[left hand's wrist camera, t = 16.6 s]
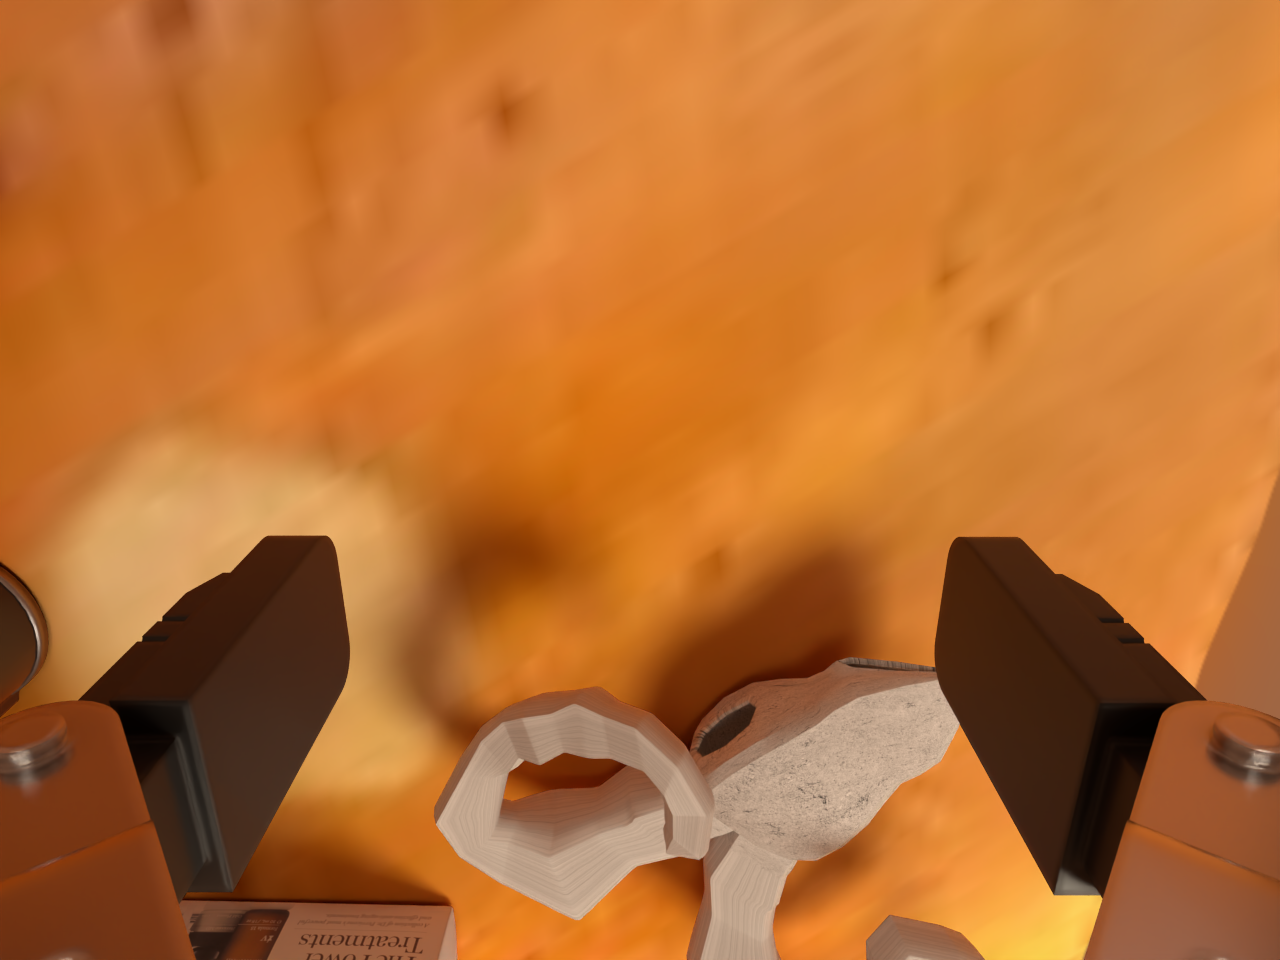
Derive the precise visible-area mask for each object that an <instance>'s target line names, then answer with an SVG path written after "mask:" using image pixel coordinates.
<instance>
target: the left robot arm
mask: <svg viewBox="0 0 1280 960" xmlns="http://www.w3.org/2000/svg"><path fill="white" fill-rule="evenodd" d="M162 618H163V619H162V621H157V622H156V623H155V624H154V625H153V626H152V627H151V628H150V629H149V630H148V631H147V632H146V633H145V634H144V635H143V636H142V637H143V639H142V642H136V643H135V644H134V645H133V646H132V647H131V648H130V649H129V650H128V651H127V652H126V653H125V654H124V655H123V656H122V657H121V658H120V659H119V660H118V661H117V662H116V663H115V664H114V665H113V666H112V667H111V668H110V669H109V670H108V671H107V672H106V673H105V674H104V675H103V676H102V677H101V678H100V679H99V680H98V681H97V682H96V683H95V684H94V685H93V686H92V687H91V688H90V689H89V690H88V691H87V692H86V693H85V694H84V695H83V696H82V697H81V698H80V699H79V700H78V701H64V702H55V703H50V704H45V705H41V706H37V707H33V708H30V709H26V710H23V711H20V712H18V713H15V714H12V715H9V716H7V717H5V718H2V719H0V960H196V958H195V955H194V952H193V949H192V945H191V942H190V939H189V936H188V932H187V929H186V926H185V923H184V919H183V916H182V913H181V910H180V906H179V904H180V902H181V901H182V899H183V897H184V896H185V894H186V892H233V891H234V889H235V887H236V885H237V883H238V881H239V880H240V878H241V876H242V874H243V872H244V870H245V868H246V867H247V865H248V863H249V861H250V859H251V857H252V856H253V854H254V852H255V850H256V848H257V846H258V845H259V843H260V841H261V839H262V837H263V835H264V834H265V832H266V830H267V828H268V826H269V824H270V823H271V821H272V819H273V817H274V815H275V813H276V811H277V810H278V808H279V806H280V804H281V802H282V800H283V799H284V797H285V795H286V793H287V791H288V789H289V788H290V786H291V784H292V782H293V780H294V778H295V777H296V775H297V773H298V771H299V769H300V767H301V765H302V764H303V762H304V760H305V758H306V756H307V754H308V753H309V751H310V749H311V747H312V745H313V743H314V742H315V740H316V738H317V736H318V734H319V732H320V731H321V729H322V727H323V725H324V723H325V721H326V720H327V718H328V716H329V714H330V712H331V710H332V708H333V707H334V705H335V703H336V701H337V699H338V697H339V696H340V694H341V692H342V690H343V688H344V685H345V682H346V678H347V674H348V669H349V660H350V643H349V635H348V628H347V621H346V614H345V607H344V601H343V594H342V587H341V580H340V573H339V566H338V560H337V554H336V550H335V546H334V544H333V542H332V540H331V539H330V538H329V537H328V536H266V537H265V538H263V539H262V540H261V541H260V542H259V543H258V544H257V545H256V546H255V547H254V549H253V550H252V551H251V552H250V553H249V554H248V555H247V556H246V557H245V558H244V559H243V560H242V561H241V562H240V563H239V564H238V565H237V566H236V567H235V568H234V570H233V571H232V572H231V573H222V574H220V575H218V576H216V577H214V578H213V579H211V580H209V581H207V582H205V583H204V584H202V585H200V586H198V587H196V588H194V589H193V590H191V591H189V592H187V593H186V594H185V595H184V596H183V597H182V598H181V599H180V600H179V601H178V602H177V603H176V604H175V605H174V606H173V607H172V608H171V609H170V610H169V611H168V612H167V613H166V614H165V615H164V616H163V617H162ZM48 643H49V641H48V631H47V626H46V622H45V619H44V617H43V614H42V612H41V610H40V608H39V606H38V604H37V603H36V601H35V600H34V598H33V597H32V595H31V594H30V593H29V591H28V590H27V589H26V588H25V587H24V586H23V585H22V584H21V583H20V582H19V581H18V580H17V579H16V578H15V577H14V576H13V575H12V574H10V573H9V572H8V571H6V570H5V569H4V568H2V567H1V566H0V717H1V716H2V715H3V714H4V713H5V712H6V711H7V710H9V709H10V708H11V707H12V706H13V705H14V704H15V703H16V702H17V701H18V700H19V690H20V689H21V688H23V687H24V686H25V685H26V684H27V683H28V682H29V681H31V680H32V679H33V678H34V677H35V676H36V675H37V673H38V672H39V671H40V669H41V668H42V666H43V664H44V662H45V659H46V656H47V652H48ZM935 667H936V673H937V678H938V682H939V685H940V688H941V690H942V692H943V694H944V696H945V698H946V700H947V702H948V703H949V705H950V707H951V709H952V711H953V713H954V714H955V716H956V718H957V720H958V722H959V723H960V725H961V727H962V729H963V731H964V732H965V734H966V736H967V738H968V740H969V742H970V743H971V745H972V747H973V749H974V751H975V752H976V754H977V756H978V758H979V760H980V762H981V763H982V765H983V767H984V769H985V771H986V772H987V774H988V776H989V778H990V780H991V782H992V783H993V785H994V787H995V789H996V791H997V792H998V794H999V796H1000V798H1001V800H1002V802H1003V803H1004V805H1005V807H1006V809H1007V811H1008V812H1009V814H1010V816H1011V818H1012V820H1013V822H1014V823H1015V825H1016V827H1017V829H1018V831H1019V832H1020V834H1021V836H1022V838H1023V840H1024V842H1025V843H1026V845H1027V847H1028V849H1029V851H1030V852H1031V854H1032V856H1033V858H1034V860H1035V861H1036V863H1037V865H1038V867H1039V869H1040V871H1041V872H1042V874H1043V876H1044V878H1045V880H1046V881H1047V883H1048V885H1049V887H1050V889H1051V891H1052V892H1053V894H1054V895H1101V897H1102V898H1103V900H1102V903H1101V906H1100V910H1099V913H1098V916H1097V919H1096V923H1095V926H1094V929H1093V932H1092V936H1091V939H1090V942H1089V945H1088V949H1087V952H1086V955H1085V958H1084V960H1280V719H1278V718H1275V717H1273V716H1271V715H1268V714H1265V713H1262V712H1260V711H1257V710H1254V709H1250V708H1247V707H1243V706H1239V705H1234V704H1230V703H1225V702H1216V701H1207V700H1206V699H1205V698H1204V697H1203V696H1202V695H1201V694H1200V693H1199V692H1198V691H1197V690H1196V689H1195V688H1194V687H1193V686H1192V685H1191V684H1190V683H1189V682H1188V681H1187V680H1186V679H1185V678H1184V677H1183V676H1182V675H1181V674H1180V673H1179V672H1178V671H1177V670H1176V669H1175V668H1174V667H1173V666H1172V665H1171V664H1170V663H1169V662H1168V661H1167V660H1166V659H1165V658H1164V657H1162V656H1161V655H1160V654H1159V653H1158V652H1157V651H1156V650H1155V649H1154V648H1153V647H1152V646H1151V645H1150V644H1145V643H1144V638H1143V637H1142V636H1141V635H1140V634H1139V633H1138V632H1137V631H1136V630H1135V629H1134V628H1133V627H1132V626H1131V625H1130V624H1129V623H1124V618H1123V617H1122V616H1121V615H1120V614H1119V613H1118V612H1117V611H1116V610H1115V609H1114V608H1113V607H1112V606H1111V605H1110V604H1109V603H1108V602H1107V601H1106V600H1105V599H1103V598H1102V597H1101V596H1100V595H1099V594H1098V593H1096V592H1094V591H1092V590H1090V589H1088V588H1087V587H1085V586H1083V585H1081V584H1079V583H1077V582H1076V581H1074V580H1072V579H1070V578H1068V577H1067V576H1065V575H1063V574H1055V573H1054V572H1053V571H1052V570H1051V569H1050V568H1049V567H1048V566H1047V565H1046V564H1045V563H1044V562H1043V561H1042V560H1041V559H1040V558H1039V557H1038V556H1037V555H1036V554H1035V553H1034V552H1033V551H1032V550H1031V549H1030V547H1029V546H1028V545H1027V544H1026V543H1025V542H1024V541H1023V540H1021V539H1020V538H1018V537H958V538H956V539H955V540H954V541H953V543H952V545H951V547H950V550H949V553H948V559H947V565H946V572H945V579H944V585H943V592H942V599H941V606H940V612H939V619H938V626H937V633H936V639H935Z"/></svg>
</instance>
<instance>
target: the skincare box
mask: <svg viewBox="0 0 1280 960" xmlns="http://www.w3.org/2000/svg"><path fill="white" fill-rule="evenodd" d="M179 906H180V910H181V913H182V916H183V919H184V923H185V926H186V929H187V932H188V936H189V939H190V942H191V945H192V949H193V952H194V955H195V958H196V960H457V941H456V927H455V919H454V912H453V908H452V907H451V906H422V905H377V904H332V903H291V902H237V901H190V900H182V901H181V902H180V904H179Z"/></svg>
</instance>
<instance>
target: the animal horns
mask: <svg viewBox="0 0 1280 960" xmlns="http://www.w3.org/2000/svg"><path fill="white" fill-rule="evenodd" d="M959 724H960V723H959V722H958V720H957V718H956V716H955V714H954V713H953V711H952V709H951V707H950V705H949V703H948V702H947V700H946V698H945V696H944V694H943V692H942V690H941V688H940V685H939V682H938V678H937V673H936V667H929V666H922V665H915V664H908V663H902V662H894V661H884V660H874V659H864V658H854V657H849V658H845V659H842V660H838V661H836V662H834V663H833V664H832V665H830V666H829V667H828V668H827V669H826V670H824V671H823V672H820V673H818V674H816V675H813V676H811V677H808V678H790V679H777V680H769V681H761V682H754V683H751V684H749V685H747V686H745V687H743V688H741V689H740V690H738V691H736V692H734V693H732V694H730V695H728V696H726V697H724V698H723V699H722V700H721V701H720V702H719V703H718V704H717V705H716V706H715V707H714V708H713V709H712V710H711V711H710V712H709V713H708V714H707V715H706V716H705V717H704V718H703V719H702V720H701V722H700V724H699V725H698V727H697V729H696V731H695V732H694V736H693V740H692V744H691V748H690V752H689V751H688V749H687V748H686V746H685V744H684V743H683V742H682V741H681V740H680V739H679V738H678V737H677V736H675V735H674V734H673V733H672V732H671V731H670V730H669V729H668V728H667V727H666V726H665V725H664V724H663V723H662V722H661V721H660V720H659V719H658V718H657V717H656V716H655V715H654V714H652V713H650V712H648V711H645V710H642V709H639V708H637V707H634V706H631V705H628V704H625V703H623V702H620V701H619V700H618V699H616V698H615V697H614V696H612V695H611V694H610V693H608V692H607V691H606V690H604V689H603V688H601V687H590V688H584V689H578V690H570V691H558V692H548V693H542V694H540V695H537V696H534V697H531V698H528V699H526V700H523V701H521V702H518V703H515V704H513V705H511V706H509V707H507V708H505V709H504V710H503V711H501V712H500V713H499V714H497V715H496V716H495V717H493V718H492V719H490V720H489V721H488V722H486V723H485V724H484V725H483V726H482V727H481V728H480V730H479V731H478V733H477V734H476V735H475V737H474V738H473V740H472V741H471V743H470V744H469V746H468V747H467V748H466V750H465V751H464V753H463V754H462V756H461V758H460V759H459V761H458V763H457V765H456V767H455V769H454V771H453V773H452V775H451V777H450V778H449V780H448V782H447V784H446V786H445V788H444V790H443V792H442V794H441V796H440V797H439V799H438V801H437V803H436V805H435V810H434V818H435V822H436V825H437V827H438V828H439V829H440V831H441V832H442V833H443V835H444V836H445V838H446V839H447V840H448V842H449V843H450V845H451V846H452V847H453V849H454V850H455V851H456V853H457V854H458V856H459V857H460V858H462V859H464V860H465V861H467V862H468V863H470V864H471V865H473V866H474V867H476V868H478V869H479V870H481V871H482V872H484V873H485V874H487V875H489V876H490V877H492V878H493V879H495V880H496V881H498V882H499V883H501V884H503V885H506V886H508V887H510V888H512V889H514V890H516V891H518V892H520V893H522V894H524V895H526V896H528V897H530V898H532V899H534V900H536V901H538V902H540V903H542V904H544V905H546V906H548V907H550V908H552V909H554V910H556V911H558V912H560V913H562V914H564V915H566V916H568V917H570V918H572V919H575V920H580V919H581V918H582V917H584V916H585V915H586V914H587V913H588V912H589V911H590V910H591V909H592V908H593V907H594V906H595V905H596V904H597V903H598V902H599V901H600V900H601V899H602V898H603V897H604V896H605V895H607V894H608V893H609V892H610V891H611V890H612V889H613V888H614V887H615V886H616V885H617V884H618V883H619V882H620V881H621V880H622V879H623V878H624V877H625V876H626V875H627V874H628V873H629V872H631V871H632V870H633V869H634V868H635V867H637V866H640V865H643V864H648V863H652V862H656V861H661V860H665V859H670V858H674V857H679V856H680V857H686V858H691V859H697V860H700V859H701V858H703V868H704V895H703V899H702V902H701V906H700V909H699V912H698V915H697V919H696V922H695V925H694V928H693V932H692V936H691V939H690V943H689V947H688V952H687V960H781V958H780V956H779V954H778V951H777V949H776V946H775V940H774V934H773V921H774V914H775V909H776V906H777V905H778V904H779V901H780V898H781V895H782V892H783V888H784V885H785V881H786V878H787V875H788V874H789V873H790V872H791V871H792V869H793V868H794V866H795V864H796V862H797V860H812V861H817V860H818V859H820V858H822V857H824V856H826V855H828V854H830V853H832V852H834V851H836V850H838V849H840V848H841V847H843V846H844V845H846V844H847V843H848V842H849V841H850V840H851V839H852V838H853V837H855V836H856V835H857V834H858V833H859V832H860V831H861V830H862V829H863V828H865V827H866V826H867V825H868V824H869V823H870V821H871V820H872V819H873V817H874V816H875V815H876V813H877V812H878V811H879V810H880V808H881V807H882V806H883V804H884V803H885V802H886V801H887V799H888V798H889V797H890V796H891V795H892V794H893V792H894V791H895V790H896V789H897V788H898V787H899V785H900V784H901V783H903V782H905V781H908V780H910V779H912V778H914V777H916V776H919V775H921V774H922V773H924V772H925V771H927V770H928V769H930V768H931V767H933V766H934V765H936V764H937V763H939V762H940V761H941V760H942V758H943V756H944V754H945V752H946V750H947V748H948V746H949V744H950V742H951V741H952V739H953V737H954V735H955V733H956V731H957V729H958V727H959ZM562 753H569V754H573V755H577V756H581V757H586V758H609V759H613V760H616V761H618V762H621V763H623V764H626V765H627V766H625V767H624V768H623V769H621V770H620V771H619V772H617V773H616V774H615V775H614V776H612V777H611V778H610V779H608V780H607V781H606V782H604V783H603V784H602V785H600V786H598V787H592V788H566V789H555V790H548V791H544V792H541V793H537V794H534V795H531V796H528V797H525V798H522V799H518V800H515V801H510V800H507V799H503V796H504V791H505V786H506V782H507V778H508V774H509V772H510V771H511V770H513V769H515V768H517V767H518V766H519V765H520V764H521V763H522V762H523V761H524V760H526V761H528V762H531V763H534V764H537V765H541V764H543V763H545V762H547V761H549V760H551V759H553V758H555V757H556V756H558V755H560V754H562ZM866 958H867V960H985V959H984V958H983V957H982V956H981V954H980V953H979V952H978V951H977V949H976V948H975V947H974V946H973V945H972V944H971V943H970V942H969V941H968V940H967V939H966V938H965V936H963V935H962V934H961V933H959V932H957V931H954V930H951V929H949V928H946V927H944V926H941V925H937V924H932V923H927V922H922V921H917V920H913V919H908V918H903V917H898V916H893V915H889V916H888V917H887V918H886V919H885V921H884V922H883V923H882V924H881V925H880V926H879V927H878V928H877V929H876V930H875V932H874V933H873V934H872V935H871V936H870V937H869V938H868V939H867V940H866Z"/></svg>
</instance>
